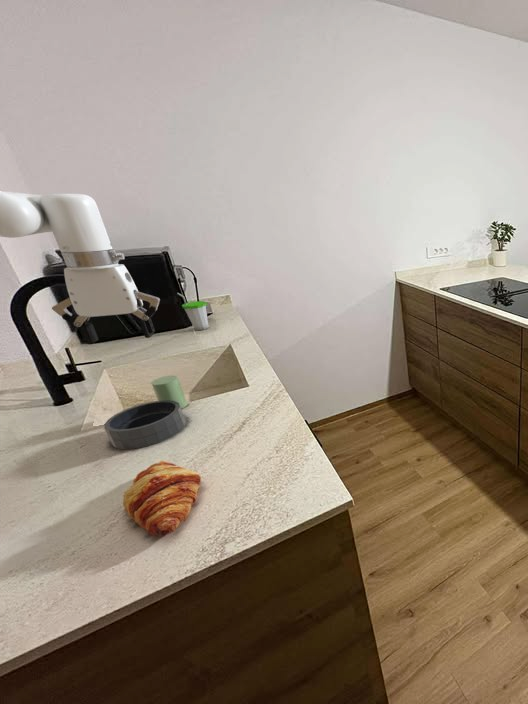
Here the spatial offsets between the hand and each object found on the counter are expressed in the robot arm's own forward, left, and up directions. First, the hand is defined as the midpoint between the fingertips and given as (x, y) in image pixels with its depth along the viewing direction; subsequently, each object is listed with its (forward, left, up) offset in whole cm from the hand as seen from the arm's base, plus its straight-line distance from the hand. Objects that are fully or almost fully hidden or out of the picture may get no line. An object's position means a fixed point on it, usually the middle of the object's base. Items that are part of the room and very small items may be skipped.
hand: (122, 339), depth 83 cm
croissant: (+11, -37, -20) cm, 43 cm away
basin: (+2, -10, -19) cm, 22 cm away
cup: (-2, +73, -20) cm, 76 cm away
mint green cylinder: (+4, +1, -19) cm, 20 cm away
